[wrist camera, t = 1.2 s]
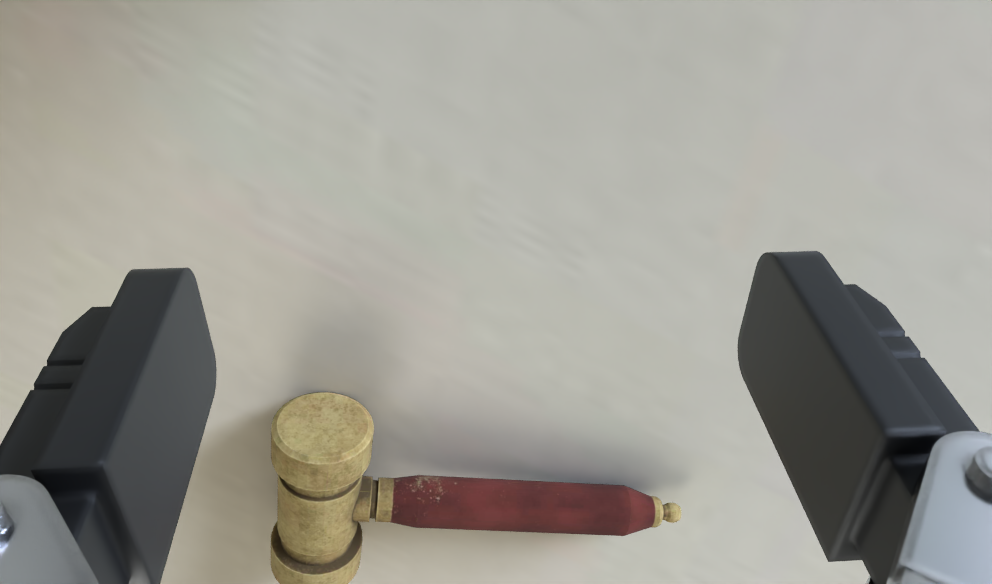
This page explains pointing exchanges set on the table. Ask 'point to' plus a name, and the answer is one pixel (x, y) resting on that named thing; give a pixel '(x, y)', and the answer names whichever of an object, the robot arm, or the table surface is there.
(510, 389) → the table surface
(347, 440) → the gavel
